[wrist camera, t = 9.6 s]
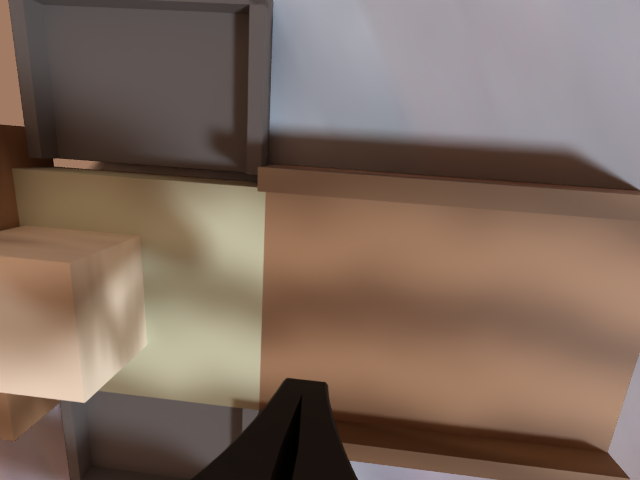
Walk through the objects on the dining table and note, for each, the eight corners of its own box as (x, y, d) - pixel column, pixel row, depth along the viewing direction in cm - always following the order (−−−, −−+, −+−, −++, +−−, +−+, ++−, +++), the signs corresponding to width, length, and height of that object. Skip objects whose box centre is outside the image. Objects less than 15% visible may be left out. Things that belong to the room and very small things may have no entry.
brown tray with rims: (568, 445, 21) (626, 522, 16) (56, 383, 23) (-13, 437, 19) (647, 170, 17) (750, 175, 13) (23, 127, 19) (-74, 118, 15)
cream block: (146, 345, 19) (84, 402, 14) (40, 333, 19) (-51, 386, 15) (140, 235, 17) (69, 262, 13) (26, 225, 18) (-81, 248, 13)
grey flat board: (257, 491, 24) (251, 513, 22) (87, 468, 24) (71, 487, 23) (273, 1, 17) (265, -14, 15) (34, -9, 17) (5, -24, 16)
